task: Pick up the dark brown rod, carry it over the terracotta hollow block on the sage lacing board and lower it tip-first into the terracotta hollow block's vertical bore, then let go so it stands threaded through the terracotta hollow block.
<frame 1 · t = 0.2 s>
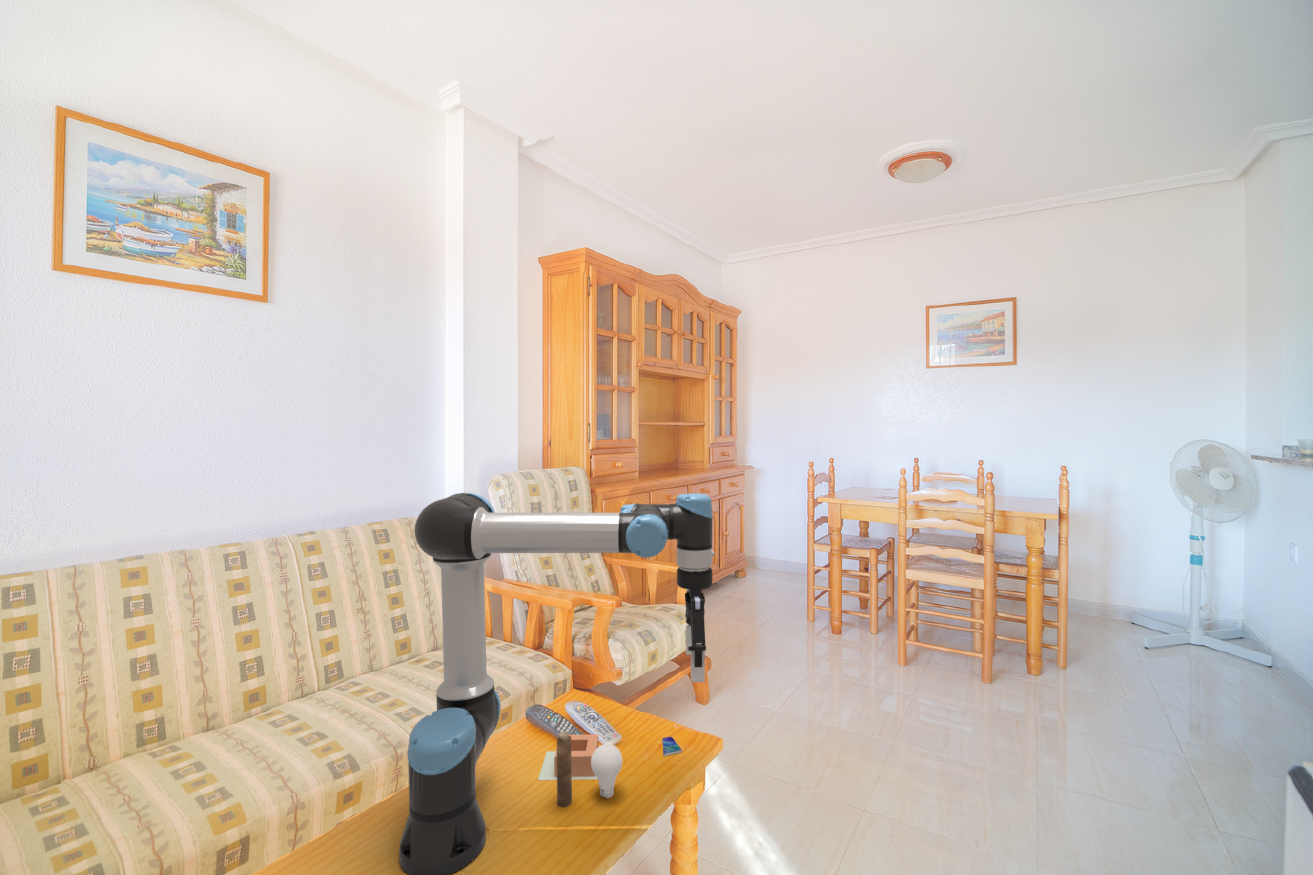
hand: (694, 667, 118), 28 cm above the table, fingers open, 13 cm apart
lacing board: (577, 767, 129), on the table
dark brown rod: (564, 805, 116), on the table
light bulb: (606, 798, 118), on the table
terracotta hollow block: (577, 764, 129), resting on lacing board
smartphone: (648, 753, 136), on the table
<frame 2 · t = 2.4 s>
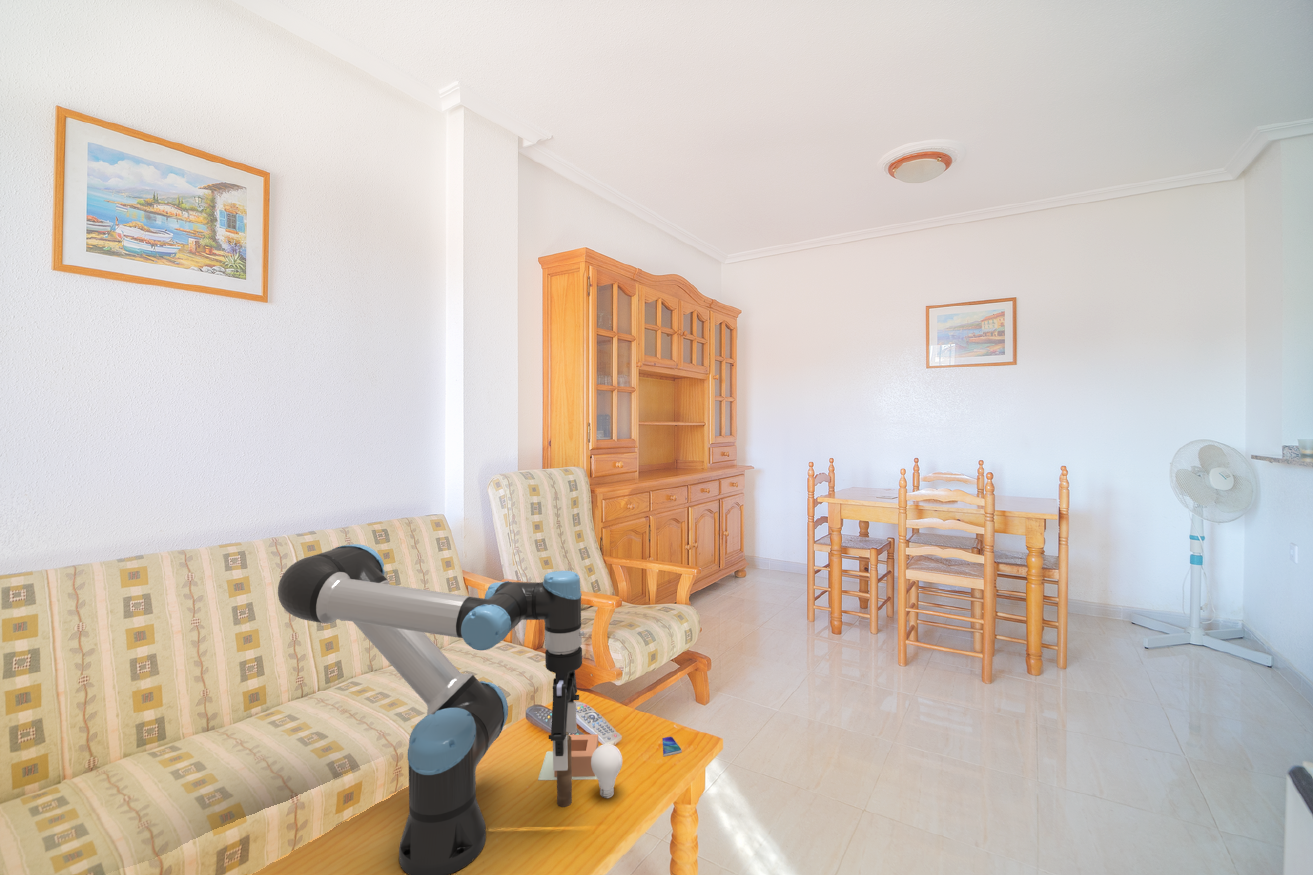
hand: (565, 749, 116), 12 cm above the table, fingers open, 13 cm apart
nothing on the table moved.
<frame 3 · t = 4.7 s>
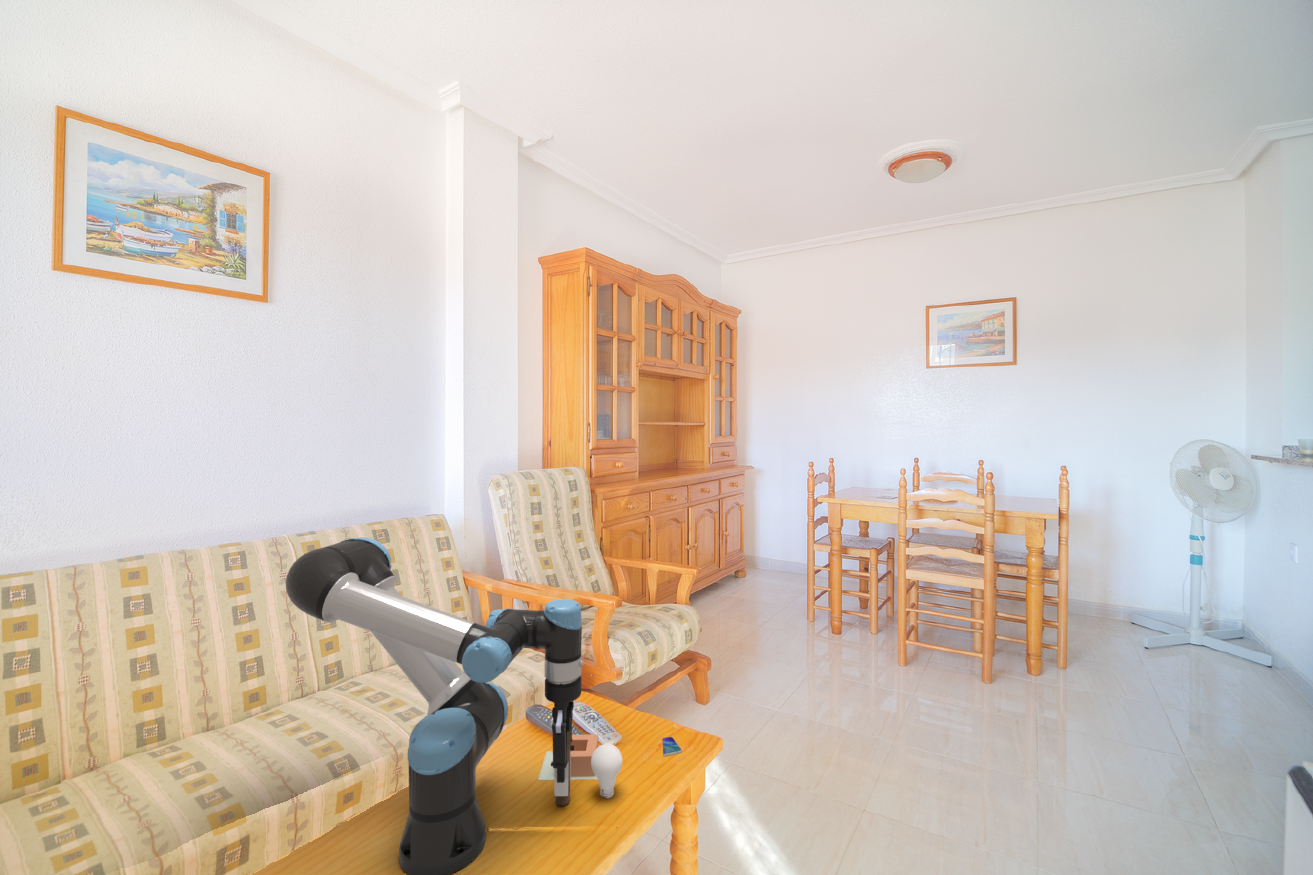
hand: (562, 788, 116), 3 cm above the table, fingers closed on dark brown rod, 3 cm apart
dark brown rod: (562, 801, 116), point 1 cm above the table, touching gripper
everything else where it was.
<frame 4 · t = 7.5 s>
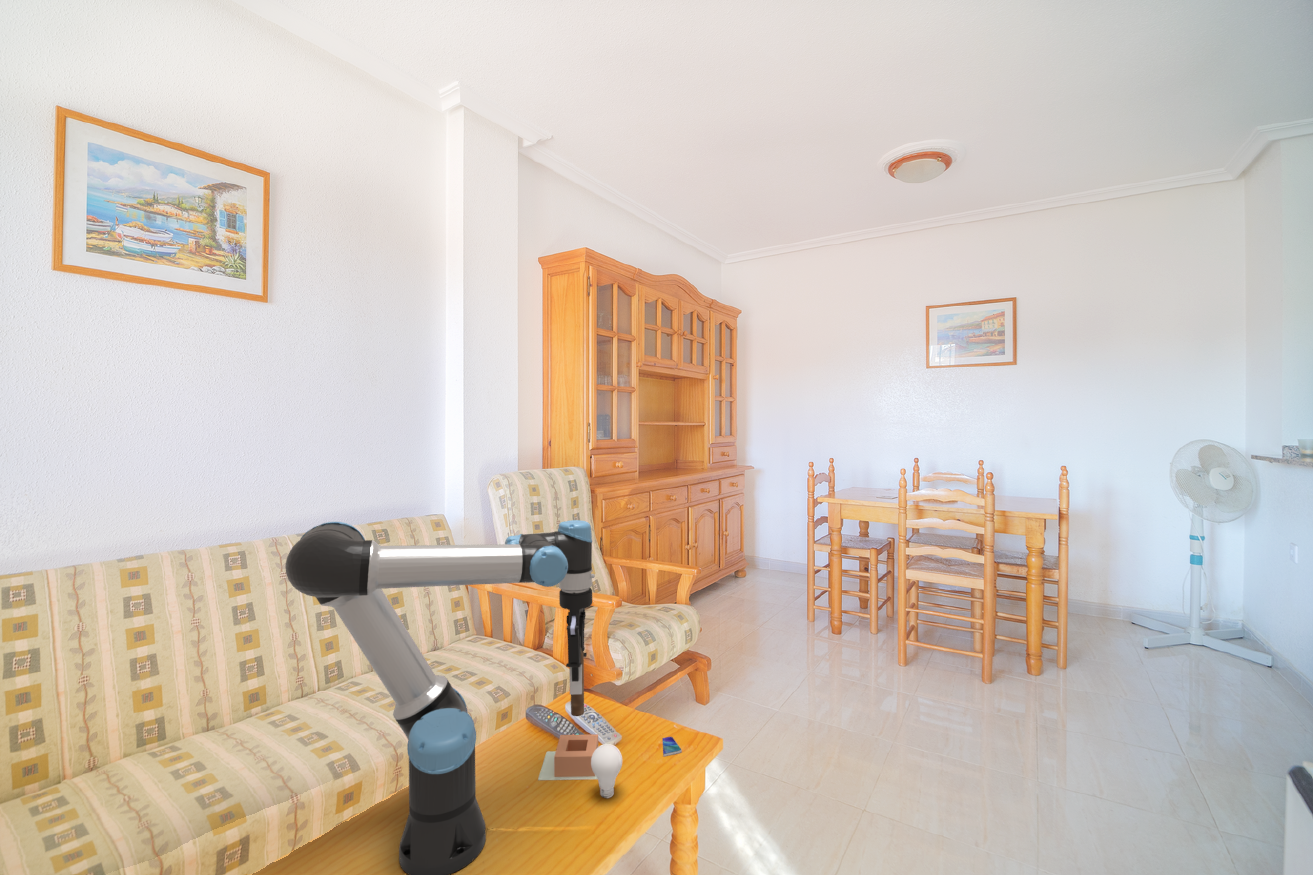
hand: (576, 689, 129), 18 cm above the table, fingers closed on dark brown rod, 3 cm apart
dark brown rod: (577, 712, 129), point 13 cm above the table, touching gripper
everything else where it was.
when the fingers open (7 cm above the table, at t = 10.6 s): dark brown rod stays where it is, resting on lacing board.
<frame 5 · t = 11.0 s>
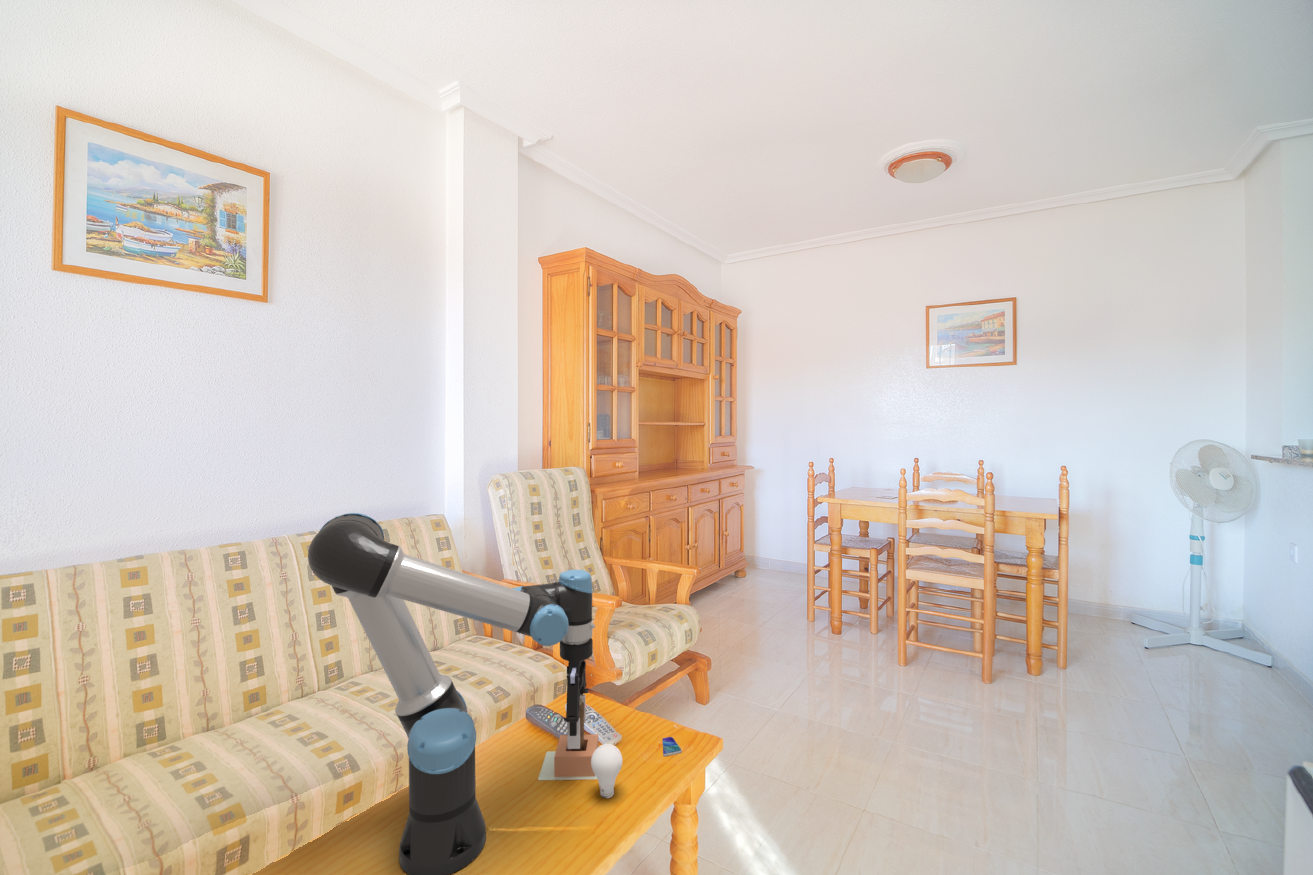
hand: (576, 734, 129), 8 cm above the table, fingers open, 10 cm apart
dark brown rod: (577, 764, 129), point 1 cm above the table, touching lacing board
everything else where it was.
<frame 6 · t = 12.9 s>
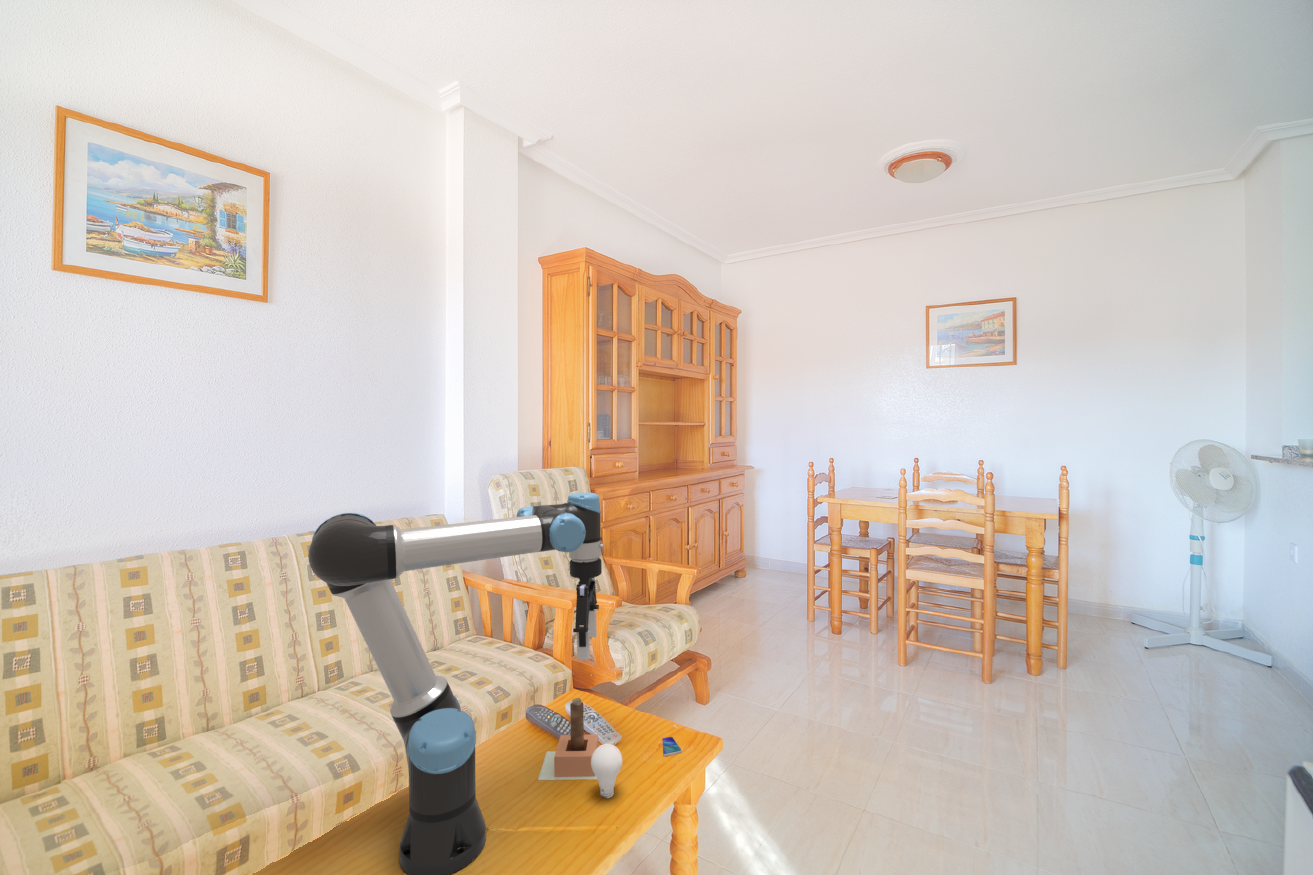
hand: (587, 647, 132), 26 cm above the table, fingers open, 13 cm apart
nothing on the table moved.
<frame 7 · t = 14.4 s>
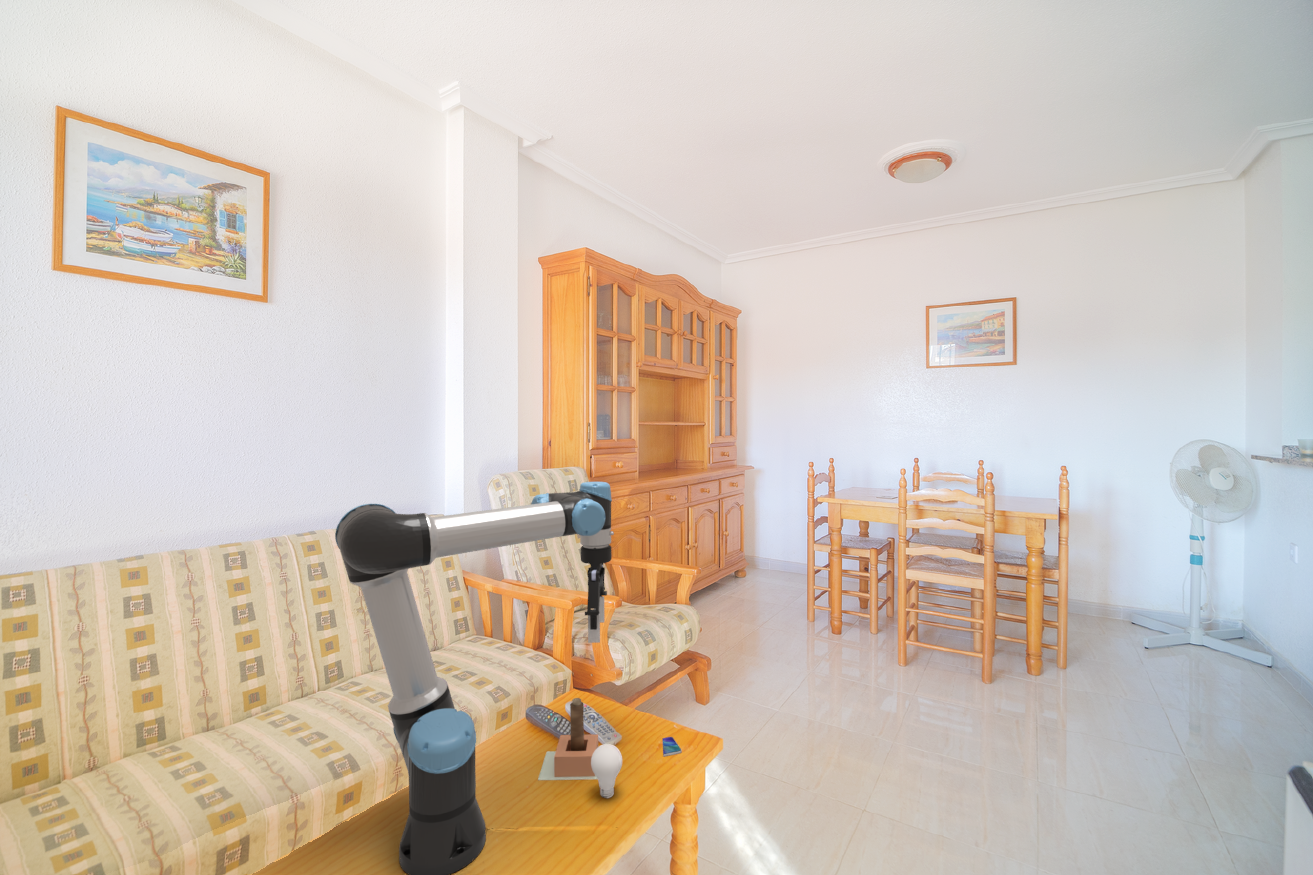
hand: (596, 631, 137), 29 cm above the table, fingers open, 13 cm apart
nothing on the table moved.
at the end: dark brown rod 0.1 cm off-centre on the terracotta hollow block, point 0.0 cm above the terracotta hollow block's base; dark brown rod tilted 0°; the gripper is holding nothing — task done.
